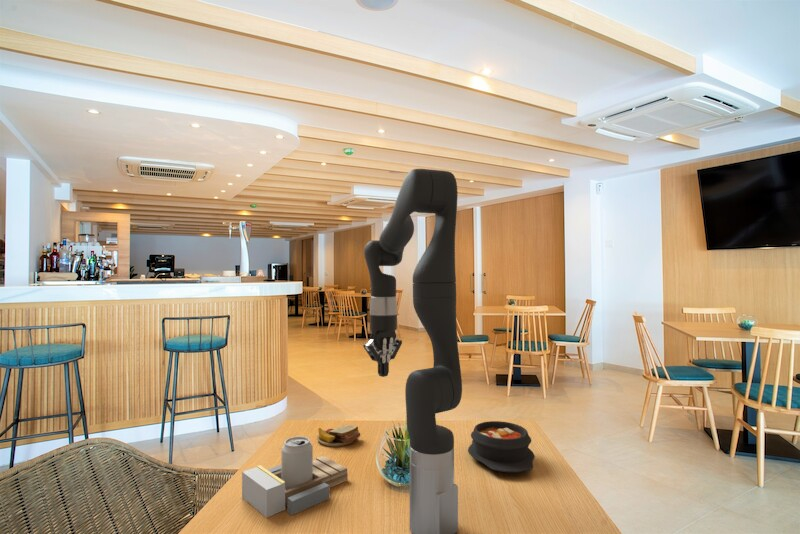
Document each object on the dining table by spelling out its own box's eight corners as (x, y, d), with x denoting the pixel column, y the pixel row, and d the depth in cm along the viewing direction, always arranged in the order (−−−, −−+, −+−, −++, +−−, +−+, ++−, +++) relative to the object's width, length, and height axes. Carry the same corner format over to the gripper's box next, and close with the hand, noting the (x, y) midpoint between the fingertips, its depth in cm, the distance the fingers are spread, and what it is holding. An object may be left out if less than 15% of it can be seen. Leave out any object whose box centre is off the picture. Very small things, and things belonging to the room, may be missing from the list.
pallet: (347, 480, 111) (347, 468, 111) (284, 506, 98) (284, 493, 98) (322, 466, 118) (322, 455, 118) (261, 489, 106) (261, 477, 106)
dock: (329, 498, 102) (329, 471, 102) (273, 523, 91) (273, 494, 92) (289, 473, 114) (289, 449, 114) (236, 492, 104) (236, 466, 104)
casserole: (550, 478, 112) (549, 446, 112) (479, 480, 111) (479, 447, 111) (517, 441, 137) (517, 414, 137) (460, 442, 135) (460, 415, 136)
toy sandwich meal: (340, 430, 147) (340, 416, 147) (366, 441, 137) (366, 426, 137) (309, 440, 138) (309, 425, 138) (334, 452, 128) (334, 436, 128)
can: (306, 498, 102) (306, 447, 102) (276, 496, 103) (276, 445, 103) (316, 482, 109) (316, 435, 109) (288, 481, 110) (288, 433, 110)
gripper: (374, 315, 111) (374, 382, 111) (409, 312, 120) (409, 374, 120) (356, 313, 116) (355, 377, 116) (391, 310, 126) (391, 370, 126)
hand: (383, 375), depth 118 cm, fingers closed
